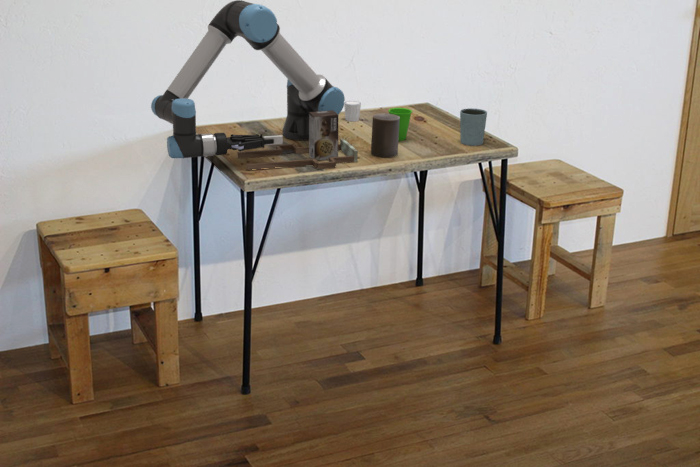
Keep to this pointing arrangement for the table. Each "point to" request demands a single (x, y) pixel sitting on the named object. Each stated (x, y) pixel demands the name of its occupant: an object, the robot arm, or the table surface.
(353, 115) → the white ribbed ramekin
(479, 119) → the grey plant pot
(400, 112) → the cup
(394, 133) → the pillar candle
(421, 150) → the table surface
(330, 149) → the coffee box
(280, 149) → the trap lane
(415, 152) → the table surface
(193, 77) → the robot arm
